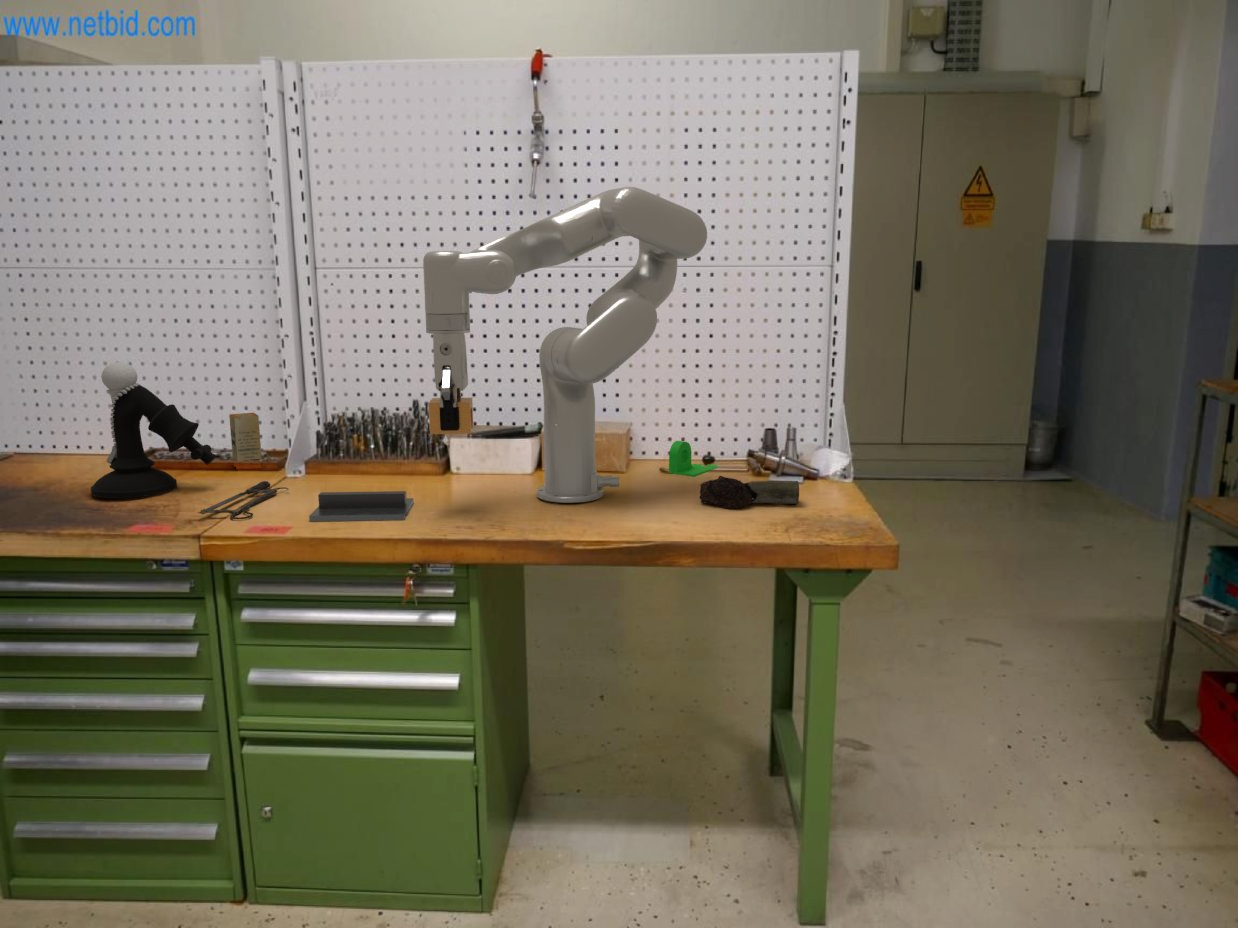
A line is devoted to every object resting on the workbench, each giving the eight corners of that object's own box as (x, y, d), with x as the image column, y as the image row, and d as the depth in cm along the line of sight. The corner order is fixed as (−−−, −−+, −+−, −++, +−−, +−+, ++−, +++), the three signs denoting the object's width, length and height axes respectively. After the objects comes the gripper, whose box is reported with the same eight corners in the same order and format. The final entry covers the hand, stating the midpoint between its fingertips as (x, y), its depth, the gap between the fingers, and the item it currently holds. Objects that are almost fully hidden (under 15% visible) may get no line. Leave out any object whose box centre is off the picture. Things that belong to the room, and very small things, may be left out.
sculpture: (114, 481, 194) (101, 358, 189) (232, 480, 195) (222, 358, 190) (75, 498, 179) (60, 366, 174) (202, 498, 180) (191, 366, 175)
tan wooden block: (473, 427, 171) (472, 397, 170) (470, 433, 165) (469, 402, 164) (434, 428, 170) (432, 398, 169) (430, 434, 164) (428, 402, 163)
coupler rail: (413, 503, 176) (412, 484, 175) (403, 519, 164) (403, 500, 163) (325, 504, 175) (324, 486, 174) (309, 521, 163) (308, 501, 162)
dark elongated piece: (796, 501, 175) (795, 471, 174) (800, 509, 168) (800, 478, 167) (699, 503, 176) (699, 473, 175) (700, 511, 169) (700, 480, 168)
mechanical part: (693, 484, 193) (694, 445, 192) (668, 480, 197) (669, 442, 195) (723, 474, 203) (723, 437, 201) (699, 471, 206) (699, 434, 204)
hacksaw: (262, 486, 188) (261, 479, 188) (310, 485, 186) (309, 478, 186) (191, 521, 165) (190, 513, 164) (245, 520, 163) (244, 512, 163)
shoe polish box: (257, 466, 209) (253, 412, 206) (262, 470, 205) (258, 415, 202) (233, 469, 206) (229, 414, 204) (238, 473, 202) (233, 417, 200)
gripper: (465, 327, 156) (469, 435, 159) (473, 321, 173) (477, 419, 176) (419, 327, 155) (424, 435, 159) (432, 321, 172) (436, 419, 176)
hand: (451, 426), depth 167 cm, fingers closed on tan wooden block, 6 cm apart
